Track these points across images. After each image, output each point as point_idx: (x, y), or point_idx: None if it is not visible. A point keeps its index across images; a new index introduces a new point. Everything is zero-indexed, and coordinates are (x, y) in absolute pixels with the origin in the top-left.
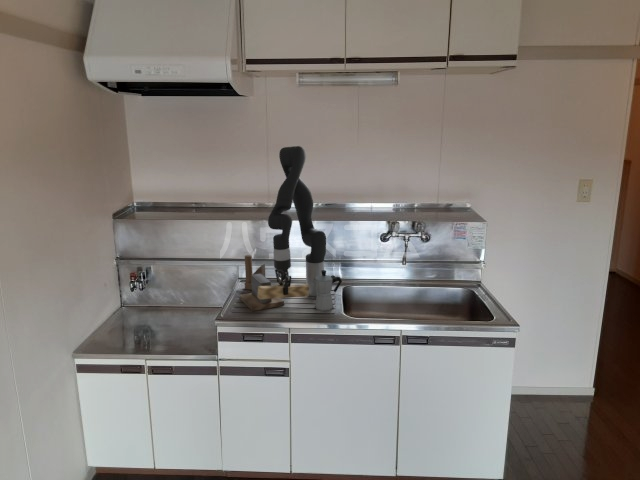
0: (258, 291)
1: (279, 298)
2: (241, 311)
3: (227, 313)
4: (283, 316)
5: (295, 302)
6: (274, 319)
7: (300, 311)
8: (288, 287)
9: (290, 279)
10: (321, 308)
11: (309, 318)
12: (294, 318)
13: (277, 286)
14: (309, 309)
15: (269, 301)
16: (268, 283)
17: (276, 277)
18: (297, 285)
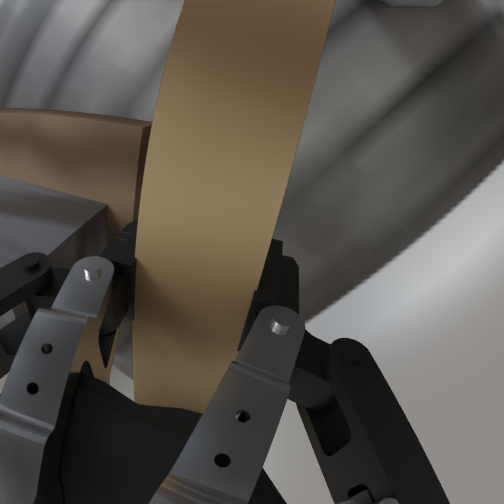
0: None
1: (85, 128)
2: (122, 331)
3: (120, 364)
4: (319, 244)
5: (168, 30)
6: (312, 301)
7: (341, 107)
8: (261, 271)
9: (429, 488)
10: (433, 2)
11: (463, 158)
12: (395, 219)
13: (177, 374)
14: (359, 37)
15: (105, 220)
16: (21, 306)
17: (8, 342)
18: (239, 46)
